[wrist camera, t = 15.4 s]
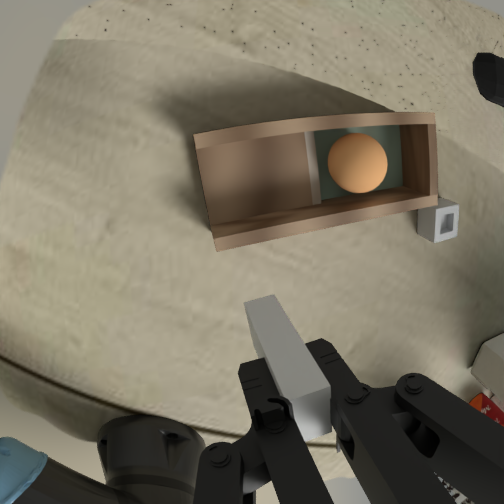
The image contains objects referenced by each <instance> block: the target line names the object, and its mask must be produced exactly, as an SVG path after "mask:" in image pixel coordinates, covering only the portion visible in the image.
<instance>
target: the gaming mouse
mask: <svg viewBox="0 0 504 504" xmlns="http://www.w3.org/2000/svg"><path fill="white" fill-rule="evenodd" d="M473 76H474V78H475V81H476V84H477V87H478V90H479V92H480V94H481V95H482V96H483V97H484V98H485V99H486V100H488V101H490V102H492V103H495V104H498V105H500V106H502V107H504V58H502V57H501V58H500V57H498V56H496V55H494V54H492V53H477V55H476V57H475V59H474V61H473Z"/></svg>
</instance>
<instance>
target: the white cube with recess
mask: <svg viewBox="0 0 504 504" xmlns="http://www.w3.org/2000/svg"><path fill="white" fill-rule="evenodd" d="M458 217H459V204H457V203H455V202H452V201H449V200H447V199H444V198H438V205H435V206H430V207H425V208H421V209H418V223H417V234H418V235H420V236H422V237H424V238H426V239H428V240H429V241H431V242H433V243H437V242H440V241H444V240H447V239H450V238H454V237H457V231H458Z"/></svg>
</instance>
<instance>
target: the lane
mask: <svg viewBox="0 0 504 504" xmlns="http://www.w3.org/2000/svg"><path fill="white" fill-rule="evenodd" d="M350 133H362V134H366V135H368V136H371V137H372V138H374V139H375V140H376V141H377V142H378V143H379V144H380V145H381V146H382V148H383V149H384V151H385V154H386V157H387V164H388V165H387V172H386V175H385V177H384V179H383V181H382V182H381V183H380V185H379V186H377V187H376V188H375V189H373V190H371V191H369V192H365V193H352V192H349V191H346V190H344V189H343V188H341V187H340V186H339V185H337V183H336V182H335V181H334V180H333V178H332V177H331V175H330V172H329V169H328V155H329V151H330V149H331V147H332V145H333V144H334V143H335V142H336V141H337V140H338V139H339V138H341V137H342V136H344V135H347V134H350ZM193 138H194V144H195V149H196V154H197V160H198V165H199V170H200V176H201V181H202V186H203V191H204V196H205V201H206V206H207V211H208V216H209V221H210V226H211V231H212V235H213V239H214V243H215V247H216V251H217V252H218V251H222V250H227V249H232V248H236V247H241V246H245V245H250V244H255V243H259V242H264V241H269V240H273V239H278V238H283V237H287V236H292V235H297V234H301V233H306V232H311V231H315V230H320V229H325V228H330V227H334V226H339V225H344V224H348V223H353V222H358V221H363V220H368V219H372V218H377V217H382V216H387V215H392V214H396V213H401V212H406V211H411V210H416V209H421V208H425V207H430V206H435V205H438V161H437V138H436V124H435V113H428V112H377V113H354V114H338V115H325V116H313V117H303V118H293V119H285V120H277V121H269V122H262V123H255V124H248V125H241V126H235V127H229V128H223V129H218V130H212V131H207V132H202V133H197V134H193Z"/></svg>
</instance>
